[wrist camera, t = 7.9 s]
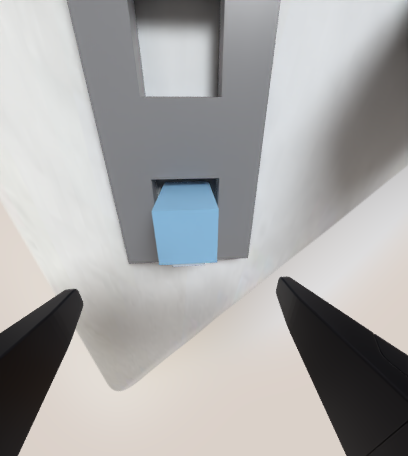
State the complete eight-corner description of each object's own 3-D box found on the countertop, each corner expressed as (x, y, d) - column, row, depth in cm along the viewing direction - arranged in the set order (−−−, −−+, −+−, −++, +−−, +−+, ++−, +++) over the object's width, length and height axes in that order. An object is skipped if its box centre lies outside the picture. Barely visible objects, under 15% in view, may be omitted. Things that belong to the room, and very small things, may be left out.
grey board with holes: (277, -68, 11) (293, -106, 9) (242, 247, 21) (247, 257, 20) (63, -81, 10) (37, -124, 9) (134, 252, 21) (129, 263, 19)
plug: (208, 180, 18) (218, 209, 11) (208, 225, 20) (216, 268, 14) (164, 182, 17) (151, 211, 11) (169, 226, 20) (160, 271, 13)
